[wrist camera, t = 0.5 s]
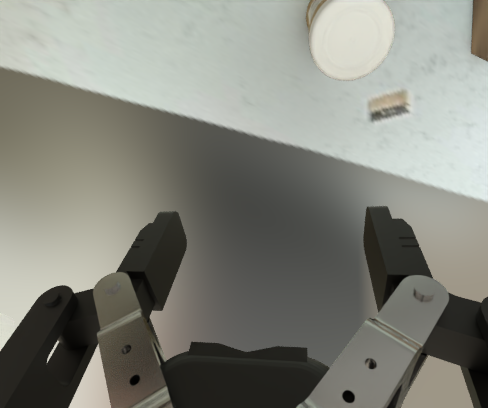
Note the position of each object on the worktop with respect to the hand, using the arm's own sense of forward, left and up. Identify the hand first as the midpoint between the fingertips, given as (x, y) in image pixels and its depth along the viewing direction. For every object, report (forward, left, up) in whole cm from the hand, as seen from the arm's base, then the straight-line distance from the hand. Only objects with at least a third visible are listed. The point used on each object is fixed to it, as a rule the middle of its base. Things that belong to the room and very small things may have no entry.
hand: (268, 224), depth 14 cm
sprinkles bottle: (-5, +4, -23) cm, 24 cm away
